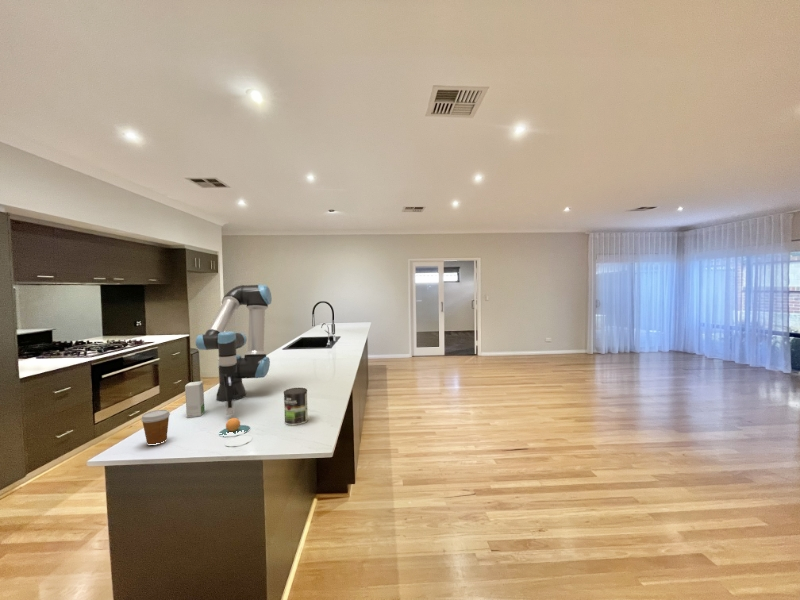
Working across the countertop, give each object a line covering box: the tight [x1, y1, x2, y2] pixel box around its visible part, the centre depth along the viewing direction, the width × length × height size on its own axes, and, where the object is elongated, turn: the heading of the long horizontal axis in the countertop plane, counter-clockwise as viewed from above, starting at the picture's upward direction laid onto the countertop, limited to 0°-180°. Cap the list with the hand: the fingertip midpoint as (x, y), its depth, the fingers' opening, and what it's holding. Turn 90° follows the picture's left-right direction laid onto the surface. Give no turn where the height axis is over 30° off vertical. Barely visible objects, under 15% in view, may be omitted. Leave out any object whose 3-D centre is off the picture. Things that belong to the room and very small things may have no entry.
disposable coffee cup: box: [140, 409, 171, 444], centre depth 136 cm, size 10×10×12 cm
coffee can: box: [283, 387, 309, 426], centre depth 155 cm, size 10×10×14 cm
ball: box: [225, 417, 241, 432], centre depth 146 cm, size 6×6×6 cm
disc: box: [218, 424, 251, 438], centre depth 146 cm, size 12×12×1 cm
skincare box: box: [184, 380, 206, 419], centre depth 167 cm, size 8×7×16 cm
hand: (229, 413), depth 162 cm, fingers closed
